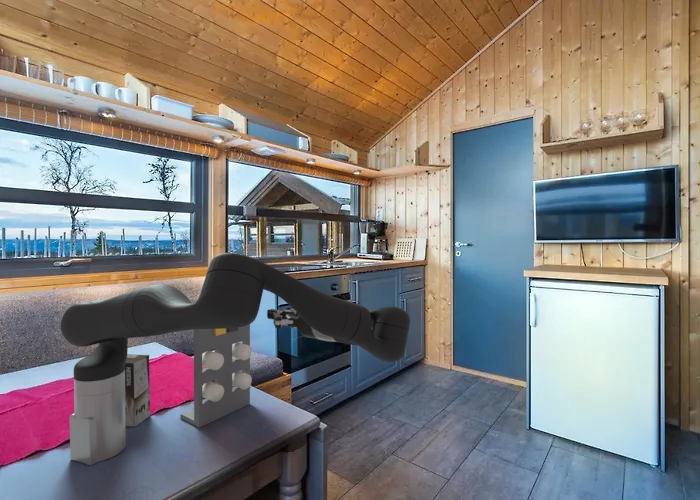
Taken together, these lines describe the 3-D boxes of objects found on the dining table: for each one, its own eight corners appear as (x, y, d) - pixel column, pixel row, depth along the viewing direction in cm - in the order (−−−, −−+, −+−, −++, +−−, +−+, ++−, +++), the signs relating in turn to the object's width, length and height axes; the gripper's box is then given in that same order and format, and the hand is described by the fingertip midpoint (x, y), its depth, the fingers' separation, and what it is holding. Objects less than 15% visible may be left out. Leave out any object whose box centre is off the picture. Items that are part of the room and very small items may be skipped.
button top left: (224, 367, 94) (224, 351, 94) (210, 372, 91) (210, 356, 91) (214, 364, 96) (214, 349, 96) (200, 368, 93) (200, 352, 93)
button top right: (251, 357, 102) (251, 343, 101) (239, 362, 98) (239, 347, 98) (242, 355, 104) (242, 341, 104) (230, 359, 100) (230, 344, 100)
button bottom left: (224, 398, 94) (224, 383, 94) (210, 404, 91) (210, 388, 91) (214, 394, 97) (214, 379, 96) (200, 400, 93) (200, 384, 93)
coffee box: (151, 415, 98) (150, 354, 97) (134, 427, 91) (134, 362, 91) (119, 413, 99) (118, 353, 98) (100, 425, 92) (99, 361, 92)
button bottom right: (251, 386, 102) (251, 372, 102) (240, 391, 99) (239, 376, 98) (242, 383, 104) (242, 369, 104) (230, 388, 101) (230, 373, 101)
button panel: (251, 404, 104) (251, 298, 103) (200, 428, 91) (199, 307, 90) (231, 396, 109) (231, 295, 108) (180, 418, 96) (179, 303, 95)
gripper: (341, 301, 88) (287, 295, 97) (304, 310, 77) (247, 302, 87) (341, 333, 88) (288, 323, 98) (304, 346, 77) (248, 334, 87)
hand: (269, 313), depth 92 cm, fingers closed
